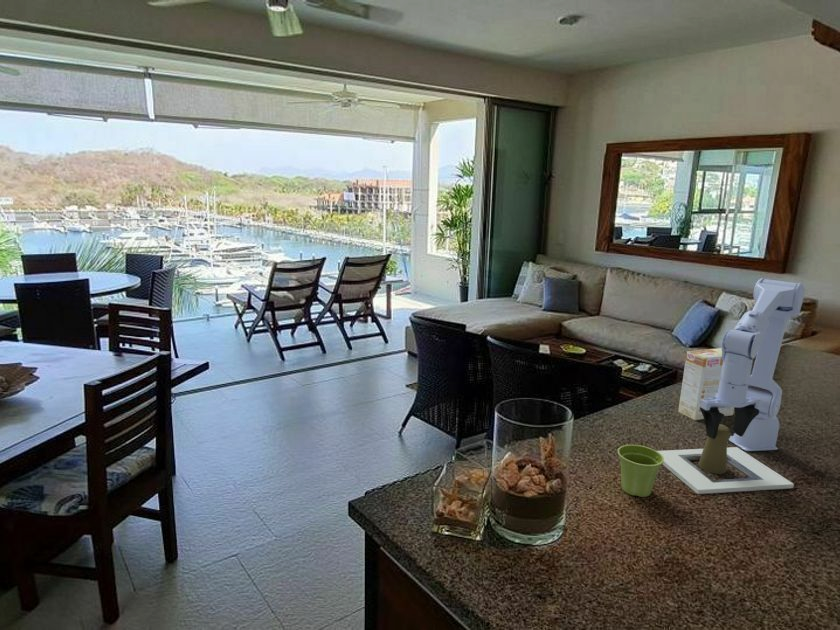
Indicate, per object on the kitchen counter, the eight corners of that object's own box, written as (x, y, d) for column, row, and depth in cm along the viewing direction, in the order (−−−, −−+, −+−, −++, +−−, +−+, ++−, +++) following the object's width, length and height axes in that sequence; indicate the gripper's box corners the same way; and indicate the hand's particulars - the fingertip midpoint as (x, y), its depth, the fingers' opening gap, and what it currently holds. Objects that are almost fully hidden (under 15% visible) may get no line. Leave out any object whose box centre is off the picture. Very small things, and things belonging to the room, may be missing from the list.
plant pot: (638, 506, 113) (643, 468, 111) (604, 484, 121) (608, 449, 119) (668, 496, 117) (673, 459, 115) (633, 475, 125) (638, 441, 123)
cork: (729, 475, 127) (737, 432, 124) (702, 471, 128) (709, 429, 126) (721, 463, 133) (729, 421, 130) (695, 459, 134) (702, 418, 131)
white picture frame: (736, 450, 139) (736, 447, 139) (793, 488, 122) (793, 484, 122) (651, 454, 136) (651, 451, 135) (697, 494, 118) (698, 489, 118)
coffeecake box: (714, 406, 168) (724, 347, 164) (734, 415, 162) (745, 353, 157) (676, 411, 164) (685, 350, 159) (695, 421, 157) (705, 357, 153)
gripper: (746, 374, 129) (737, 426, 132) (694, 376, 126) (686, 430, 129) (771, 384, 122) (760, 439, 126) (717, 387, 119) (707, 443, 122)
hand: (724, 435), depth 127 cm, fingers open, 7 cm apart
